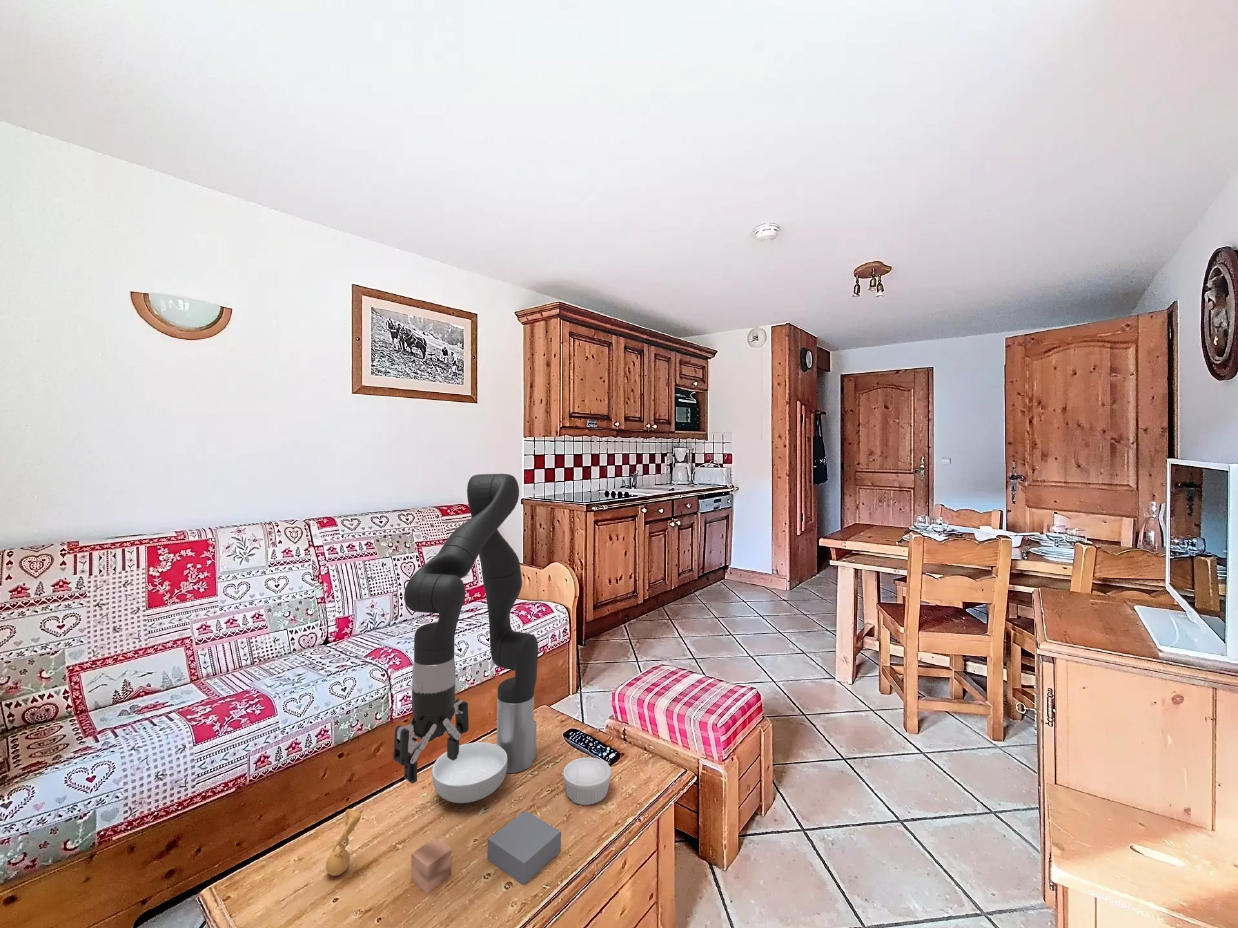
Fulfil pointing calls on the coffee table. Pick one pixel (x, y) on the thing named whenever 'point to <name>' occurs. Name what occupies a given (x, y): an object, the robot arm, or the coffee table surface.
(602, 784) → the ramekin
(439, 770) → the cereal bowl
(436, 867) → the terracotta cube
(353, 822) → the figurine
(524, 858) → the slate base
